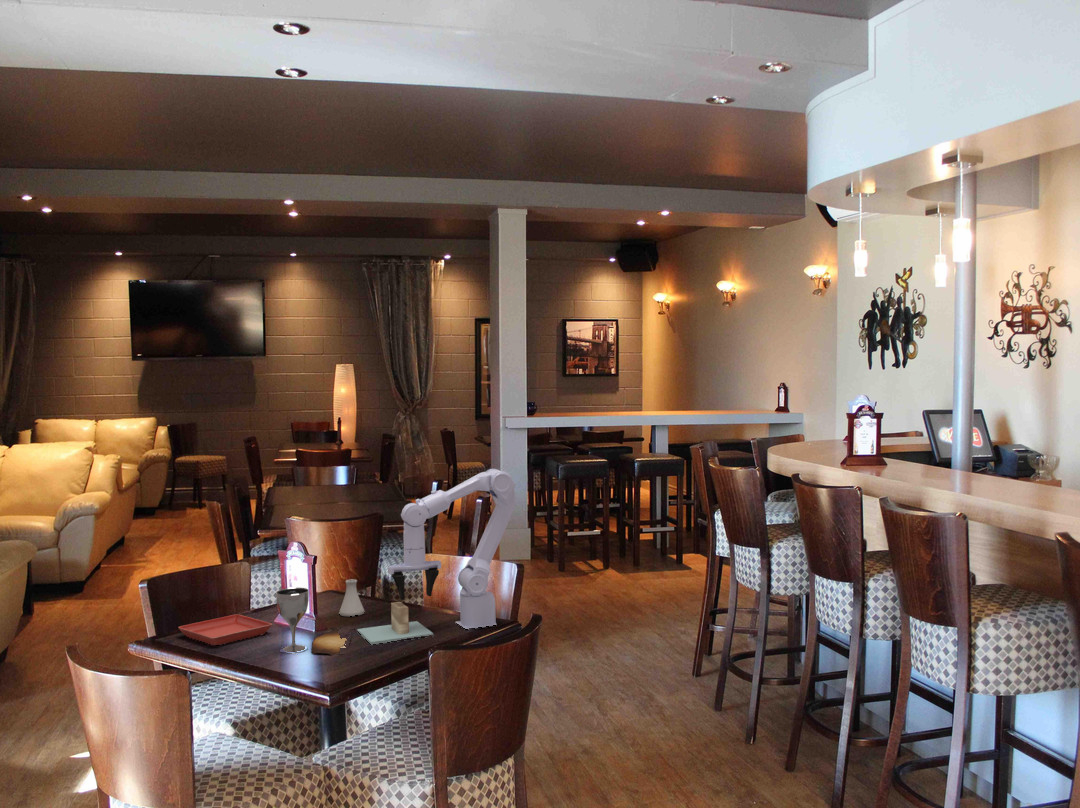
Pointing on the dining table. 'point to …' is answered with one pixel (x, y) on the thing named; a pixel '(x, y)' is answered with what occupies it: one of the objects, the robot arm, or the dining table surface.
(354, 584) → the flask
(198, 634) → the plant saucer
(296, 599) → the wine glass
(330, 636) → the parchment
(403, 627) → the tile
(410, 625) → the mat
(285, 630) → the dining table surface
